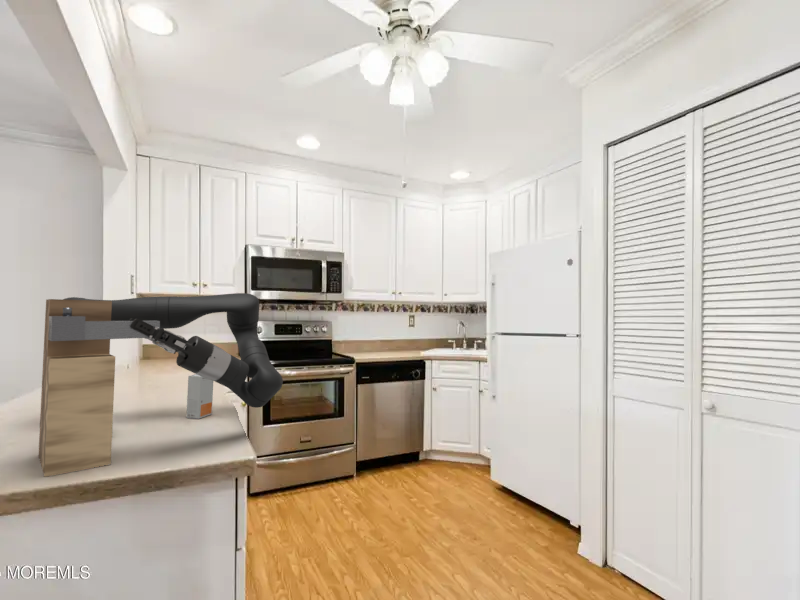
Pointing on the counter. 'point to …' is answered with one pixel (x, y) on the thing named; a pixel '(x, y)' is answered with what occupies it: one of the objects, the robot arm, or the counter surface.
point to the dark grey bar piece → (90, 328)
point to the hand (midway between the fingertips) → (131, 322)
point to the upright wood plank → (76, 394)
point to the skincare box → (199, 397)
